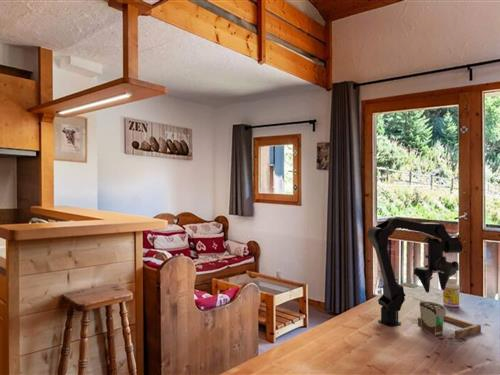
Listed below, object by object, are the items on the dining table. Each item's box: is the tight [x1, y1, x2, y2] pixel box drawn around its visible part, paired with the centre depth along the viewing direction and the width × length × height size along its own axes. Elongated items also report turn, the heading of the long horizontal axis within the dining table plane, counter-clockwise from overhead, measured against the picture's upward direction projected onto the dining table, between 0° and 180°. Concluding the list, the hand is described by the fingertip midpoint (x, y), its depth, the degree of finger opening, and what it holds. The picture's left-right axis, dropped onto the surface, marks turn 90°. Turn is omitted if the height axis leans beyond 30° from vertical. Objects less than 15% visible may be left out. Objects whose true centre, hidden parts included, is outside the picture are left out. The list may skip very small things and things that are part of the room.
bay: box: [417, 314, 482, 339], centre depth 146 cm, size 14×17×2 cm
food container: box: [418, 300, 447, 337], centre depth 142 cm, size 12×6×10 cm, turn 5°
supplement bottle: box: [442, 276, 460, 308], centre depth 173 cm, size 7×7×13 cm
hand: (435, 291), depth 153 cm, fingers open, 9 cm apart
